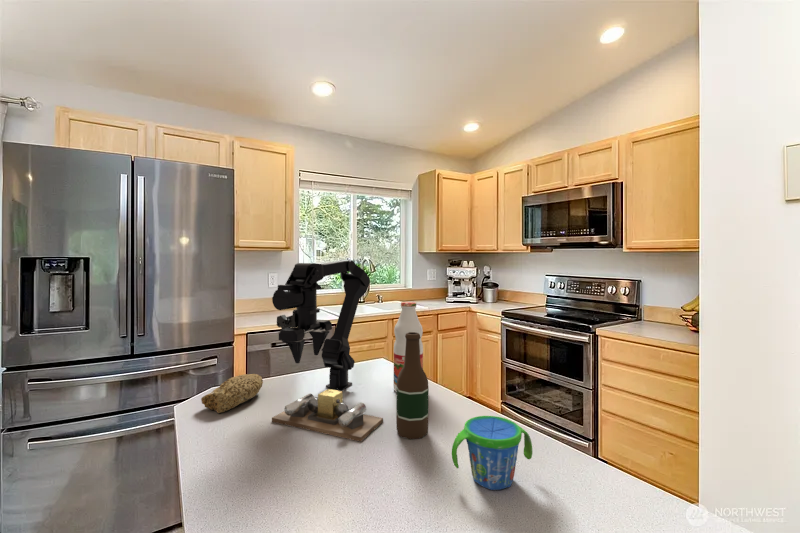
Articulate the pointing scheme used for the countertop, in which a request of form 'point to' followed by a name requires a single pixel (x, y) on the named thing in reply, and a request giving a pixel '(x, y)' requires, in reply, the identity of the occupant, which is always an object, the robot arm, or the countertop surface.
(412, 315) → the fruit juice
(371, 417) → the padlock latch board
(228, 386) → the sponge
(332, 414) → the block
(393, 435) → the countertop surface
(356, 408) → the shafts
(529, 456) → the snack cup
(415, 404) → the beer bottle
